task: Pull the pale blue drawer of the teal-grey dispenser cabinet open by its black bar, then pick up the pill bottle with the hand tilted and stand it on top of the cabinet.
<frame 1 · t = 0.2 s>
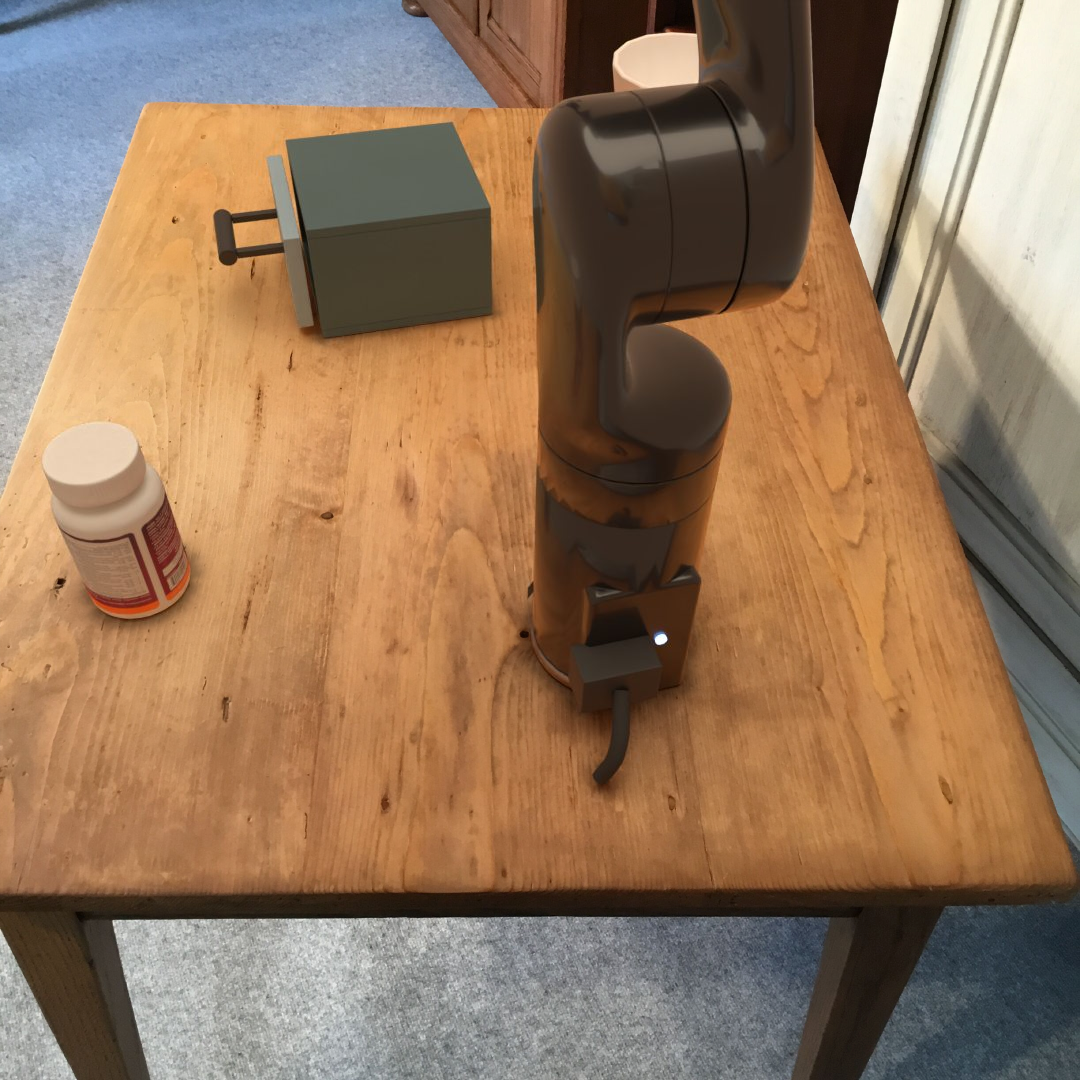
cup: (669, 181, 102), on the table
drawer: (330, 234, 86), point 5 cm above the table, slide at 0.5 cm
pill bottle: (142, 586, 68), on the table
cabinet: (394, 278, 90), on the table
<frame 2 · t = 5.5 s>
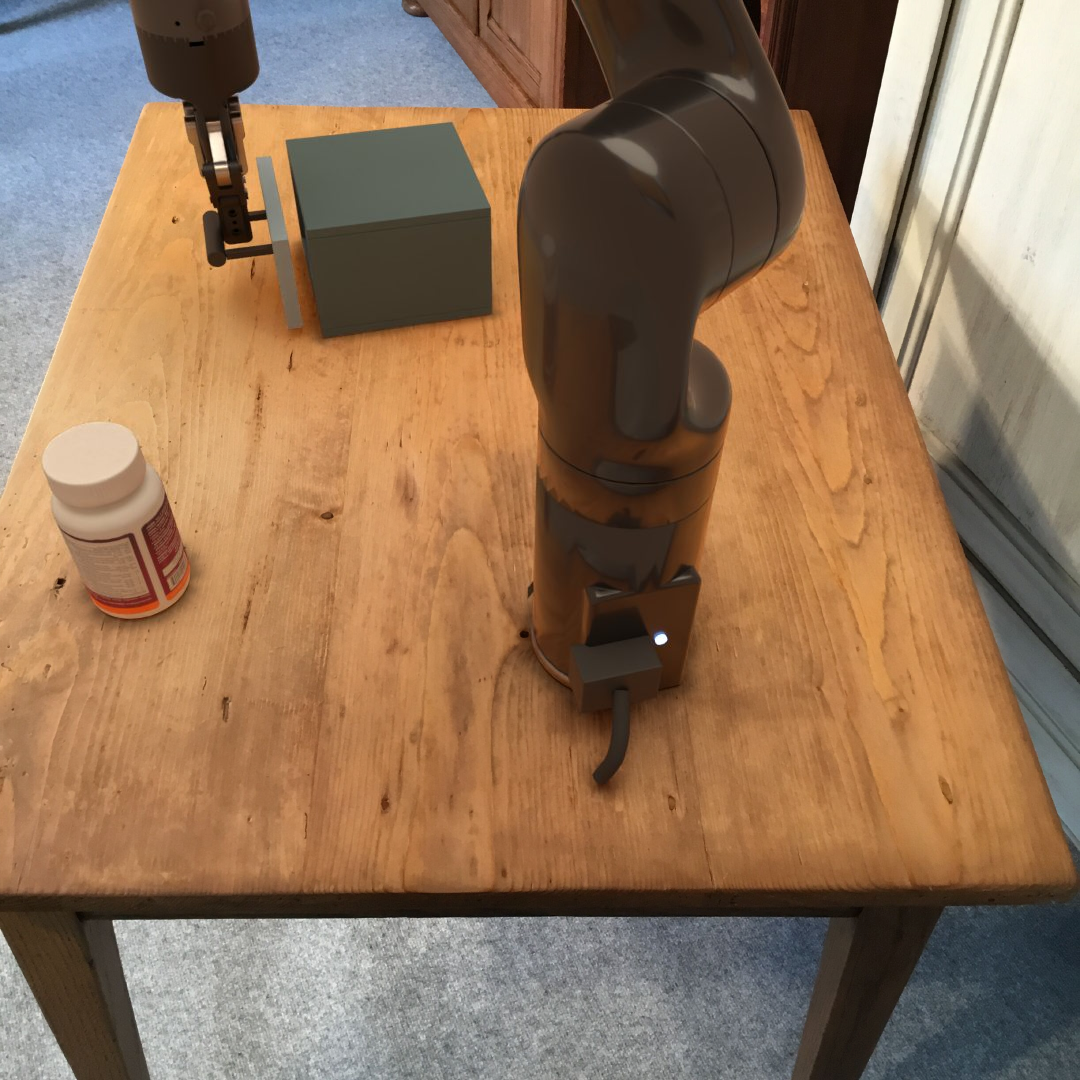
hand: (238, 238, 84), 5 cm above the table, tool pointing down, fingers closed
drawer: (320, 236, 86), point 5 cm above the table, slide at 1.3 cm, touching gripper
everything else where it was.
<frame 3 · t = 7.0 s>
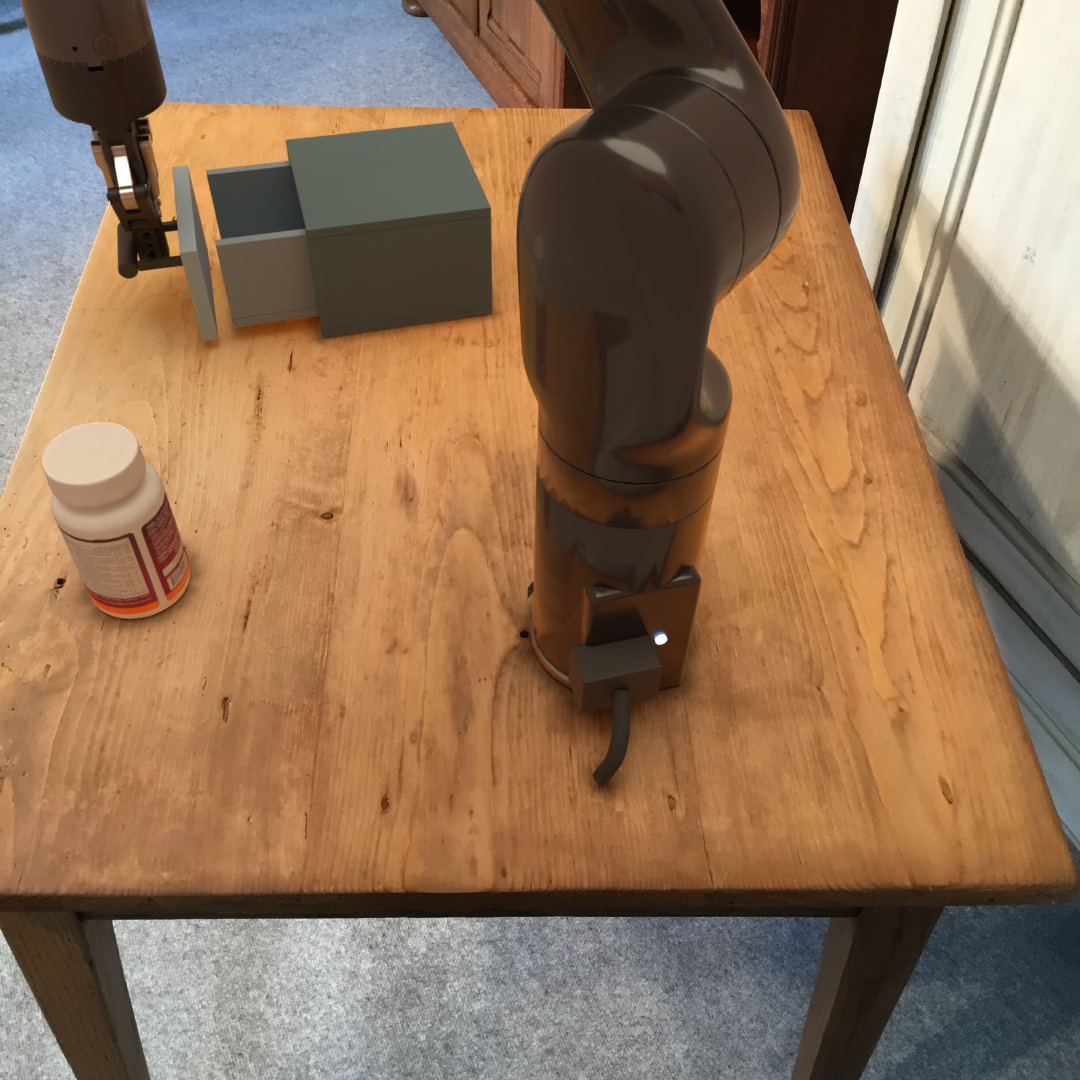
hand: (156, 260, 84), 4 cm above the table, tool pointing down, fingers closed
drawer: (237, 246, 85), point 5 cm above the table, slide at 7.8 cm, touching gripper
everything else where it was.
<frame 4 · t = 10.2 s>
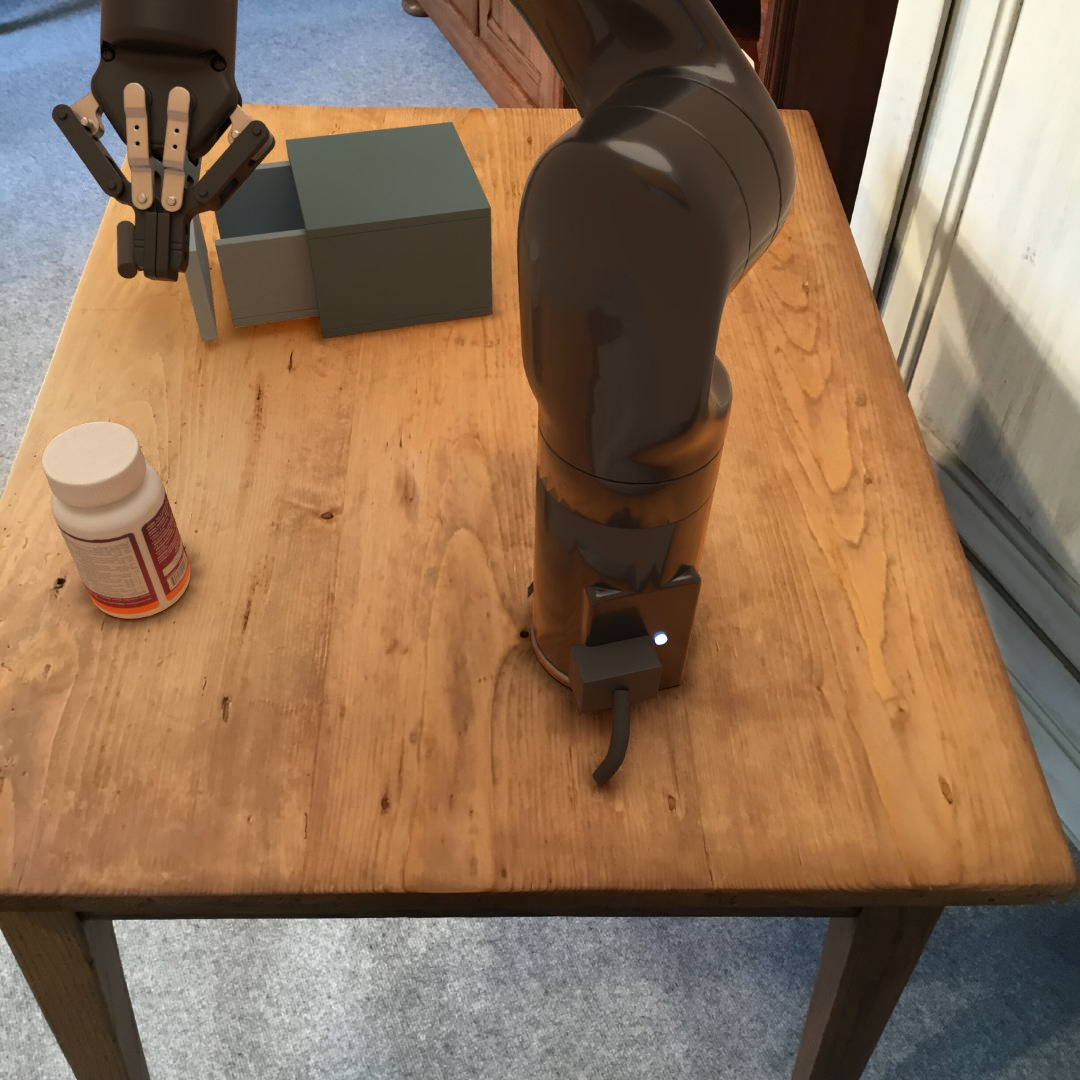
hand: (160, 279, 65), 14 cm above the table, tool tilted 40°, fingers closed
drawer: (236, 246, 85), point 5 cm above the table, slide at 7.8 cm
everything else where it was.
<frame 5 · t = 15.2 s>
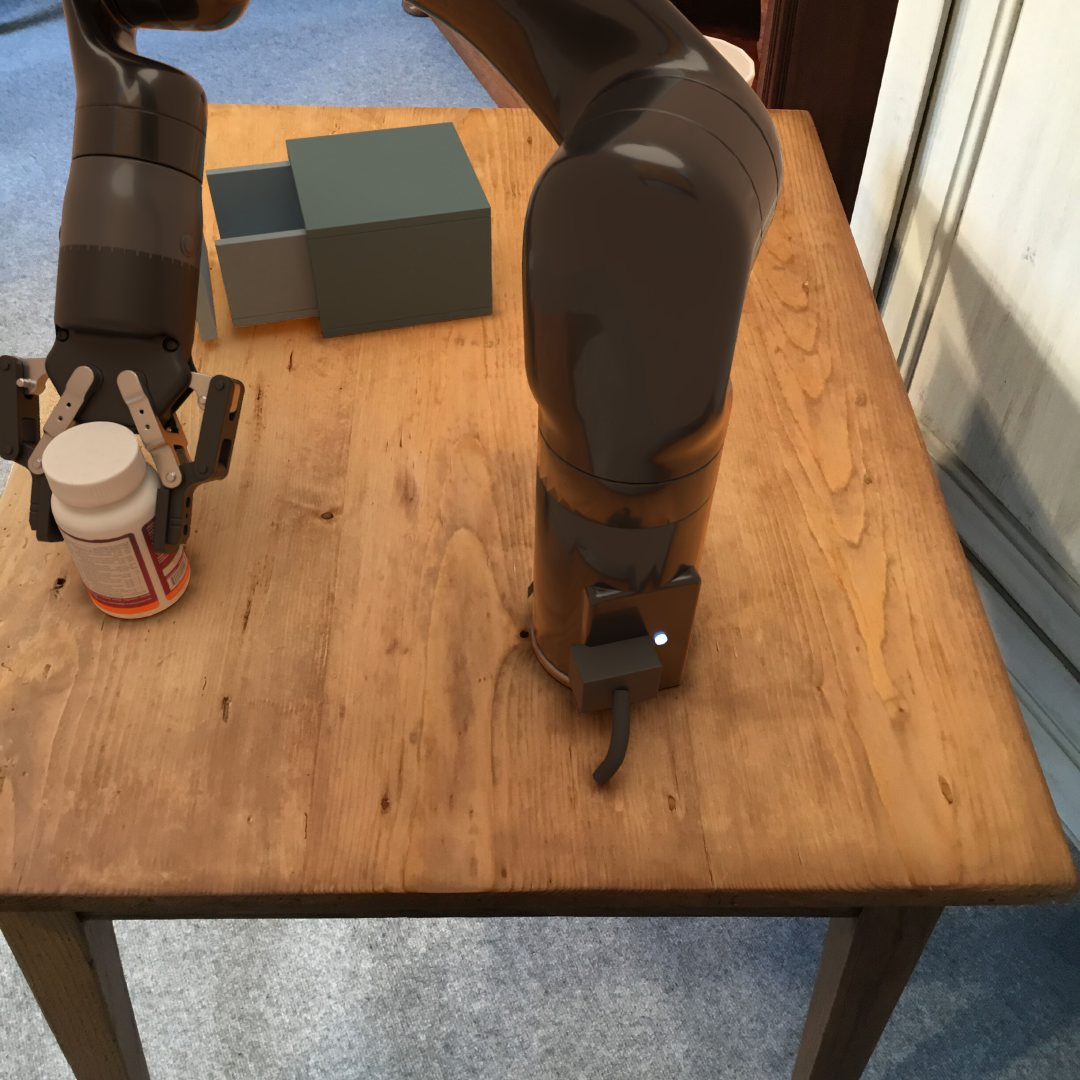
hand: (107, 546, 63), 5 cm above the table, tool tilted 45°, fingers closed on pill bottle, 6 cm apart
pill bottle: (142, 586, 68), on the table, touching gripper
everything else where it was.
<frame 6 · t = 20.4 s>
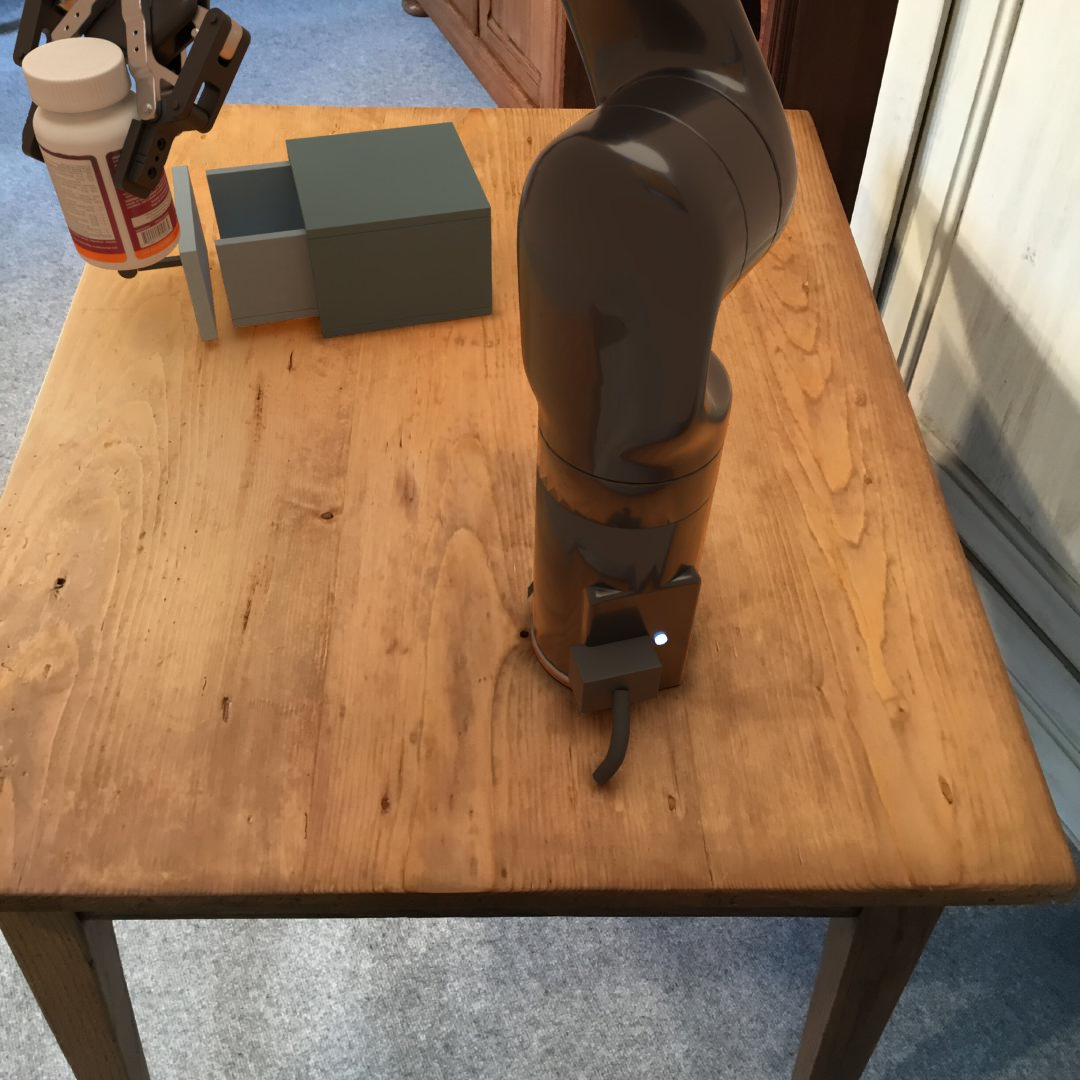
hand: (83, 175, 60), 21 cm above the table, tool tilted 45°, fingers closed on pill bottle, 6 cm apart
pill bottle: (131, 248, 65), point 15 cm above the table, touching gripper
everything else where it was.
when the fingers open (15 cm above the table, at t = 25.7 s): pill bottle stays where it is, resting on cabinet.
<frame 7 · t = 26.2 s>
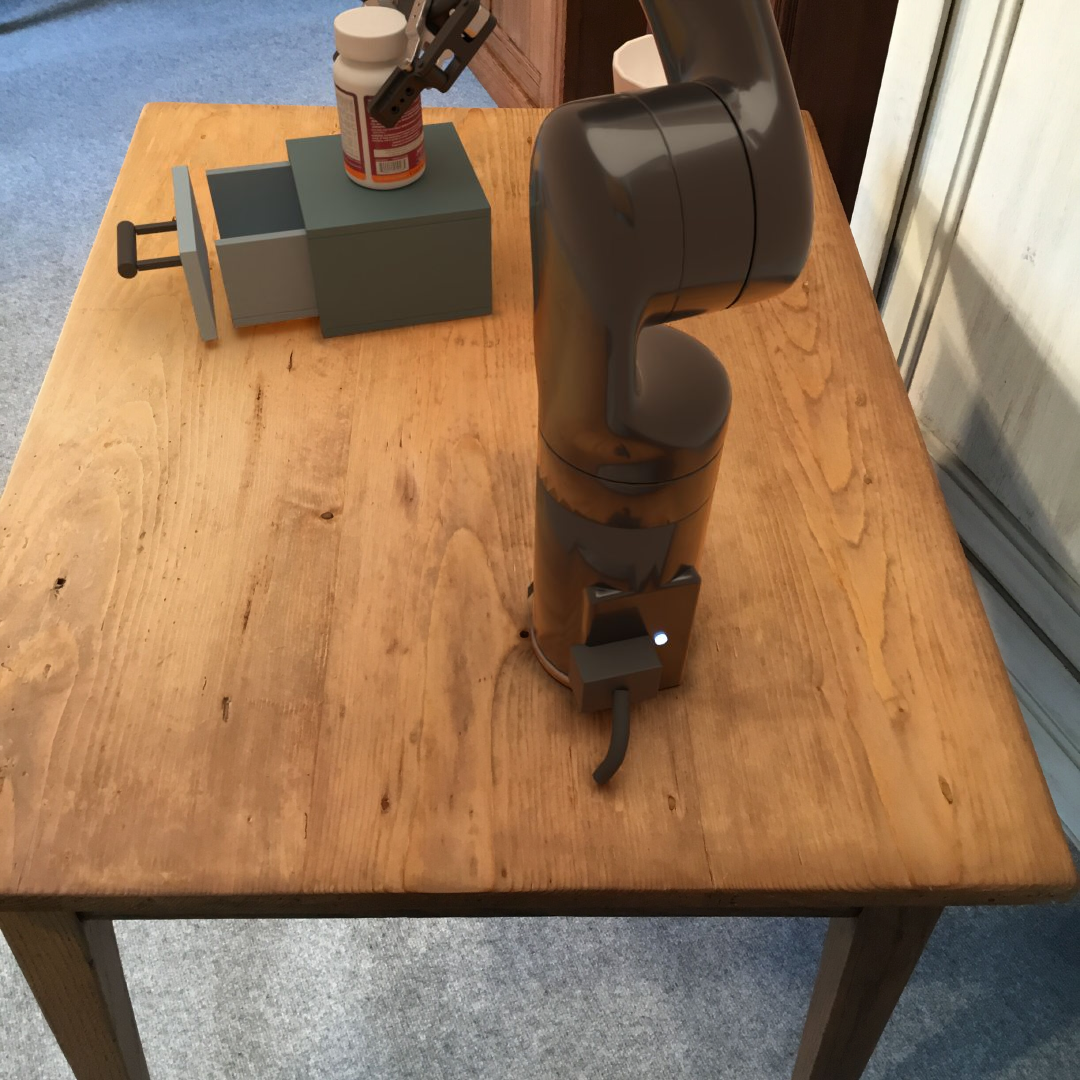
hand: (359, 94, 78), 16 cm above the table, tool tilted 45°, fingers open, 8 cm apart
pill bottle: (385, 174, 83), point 9 cm above the table, touching cabinet
everything else where it was.
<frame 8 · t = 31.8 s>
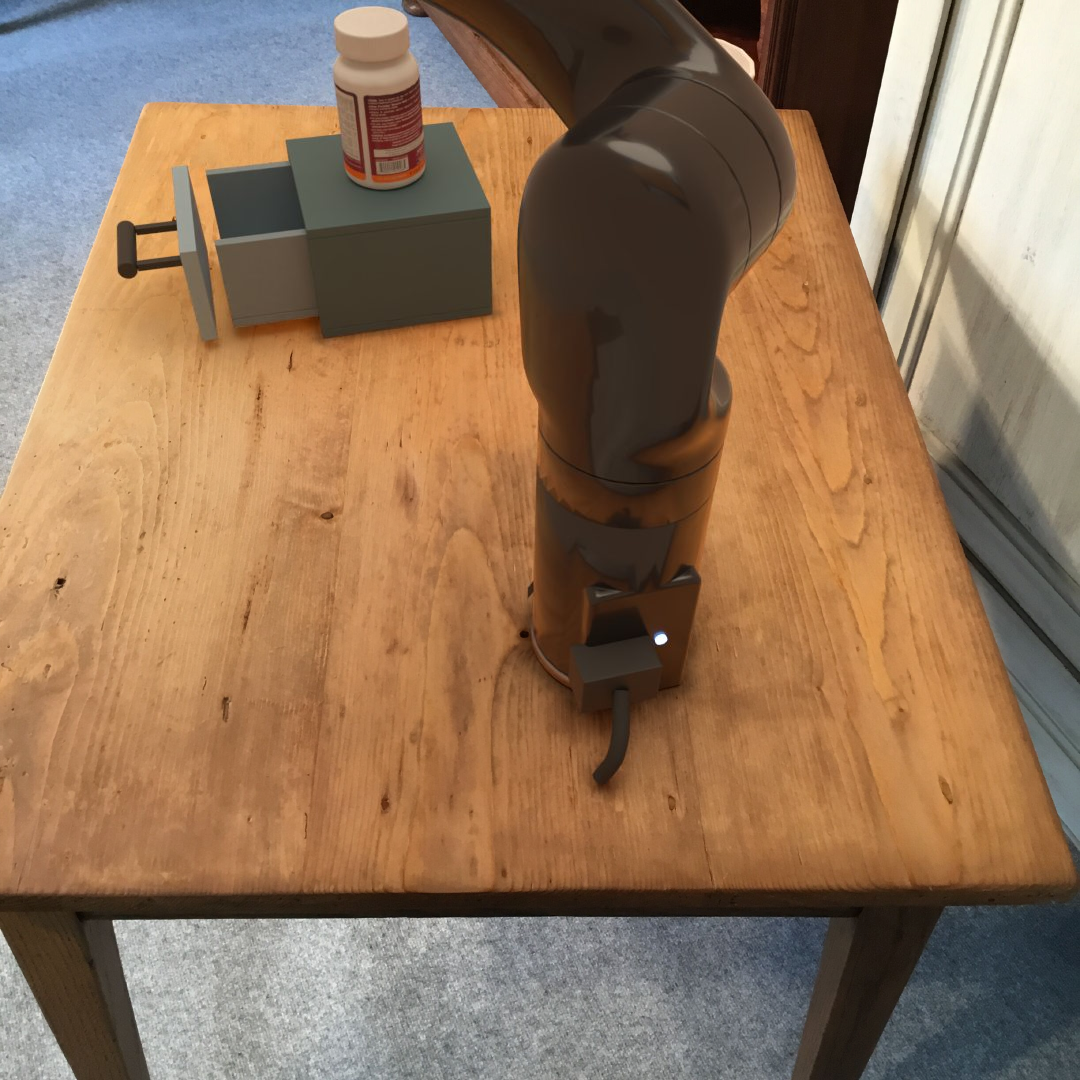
nothing on the table moved.
at the end: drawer slide at 7.8 cm; pill bottle inside the target area on the cabinet (0.1 cm from its centre), point 9.4 cm above the cabinet's base; pill bottle tilted 0° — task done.
